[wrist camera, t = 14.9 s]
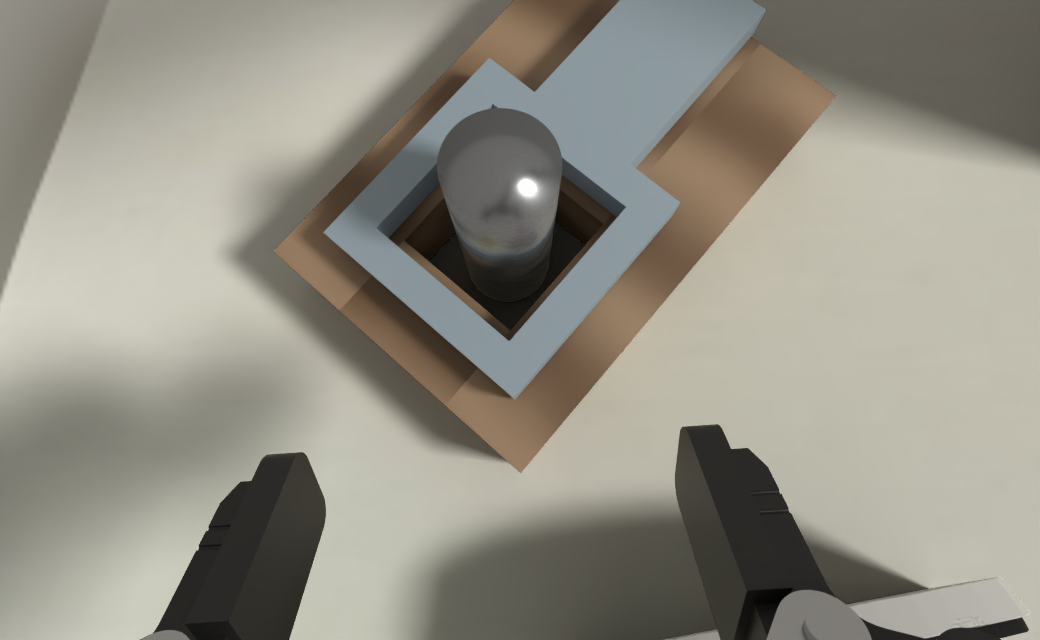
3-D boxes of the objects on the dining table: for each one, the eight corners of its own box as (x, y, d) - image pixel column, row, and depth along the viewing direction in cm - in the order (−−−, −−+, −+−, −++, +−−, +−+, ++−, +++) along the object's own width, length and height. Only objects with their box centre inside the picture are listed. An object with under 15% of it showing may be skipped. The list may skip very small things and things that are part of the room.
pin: (508, 208, 28) (499, 85, 19) (565, 261, 28) (588, 163, 18) (450, 262, 28) (410, 165, 18) (508, 318, 27) (499, 248, 17)
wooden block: (581, -11, 30) (586, -76, 27) (795, 141, 28) (836, 95, 24) (311, 276, 28) (273, 251, 24) (523, 465, 26) (520, 472, 22)
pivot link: (620, -57, 26) (625, -86, 25) (800, 66, 25) (816, 43, 23) (336, 244, 24) (323, 232, 22) (515, 399, 22) (513, 397, 21)
